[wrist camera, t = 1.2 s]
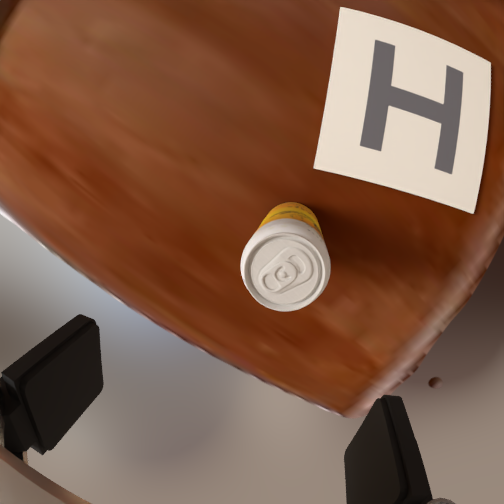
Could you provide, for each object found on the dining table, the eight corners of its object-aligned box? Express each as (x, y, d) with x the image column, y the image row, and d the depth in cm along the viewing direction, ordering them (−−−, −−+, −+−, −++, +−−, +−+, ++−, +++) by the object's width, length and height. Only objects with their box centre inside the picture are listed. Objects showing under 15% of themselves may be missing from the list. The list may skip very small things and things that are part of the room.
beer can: (329, 235, 34) (349, 284, 19) (285, 266, 35) (274, 332, 21) (297, 190, 33) (295, 207, 19) (252, 223, 35) (218, 263, 20)
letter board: (339, 9, 26) (340, 6, 26) (487, 64, 25) (490, 62, 24) (313, 168, 32) (313, 168, 31) (470, 212, 30) (473, 214, 29)
